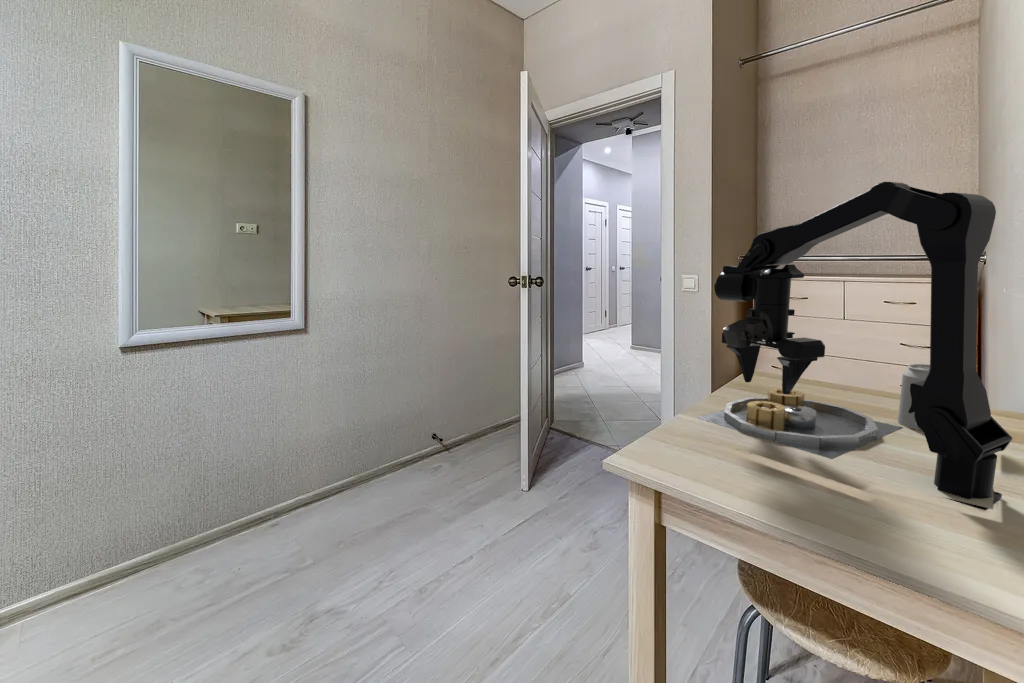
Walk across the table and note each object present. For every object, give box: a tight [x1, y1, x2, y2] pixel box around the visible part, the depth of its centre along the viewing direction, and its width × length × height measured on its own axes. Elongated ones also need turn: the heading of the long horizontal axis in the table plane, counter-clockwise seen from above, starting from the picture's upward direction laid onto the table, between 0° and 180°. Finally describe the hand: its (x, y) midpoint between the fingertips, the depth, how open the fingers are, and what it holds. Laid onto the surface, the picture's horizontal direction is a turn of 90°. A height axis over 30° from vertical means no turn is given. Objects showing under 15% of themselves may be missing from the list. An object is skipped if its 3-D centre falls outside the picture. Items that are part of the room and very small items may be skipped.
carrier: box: [696, 394, 904, 460], centre depth 92 cm, size 25×25×4 cm
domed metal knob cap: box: [784, 405, 816, 428], centre depth 92 cm, size 7×7×3 cm
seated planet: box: [766, 387, 806, 406], centre depth 99 cm, size 6×6×4 cm
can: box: [897, 363, 930, 431], centre depth 88 cm, size 8×8×12 cm
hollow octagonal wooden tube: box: [746, 401, 785, 431], centre depth 90 cm, size 6×6×4 cm
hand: (766, 387), depth 89 cm, fingers open, 9 cm apart
